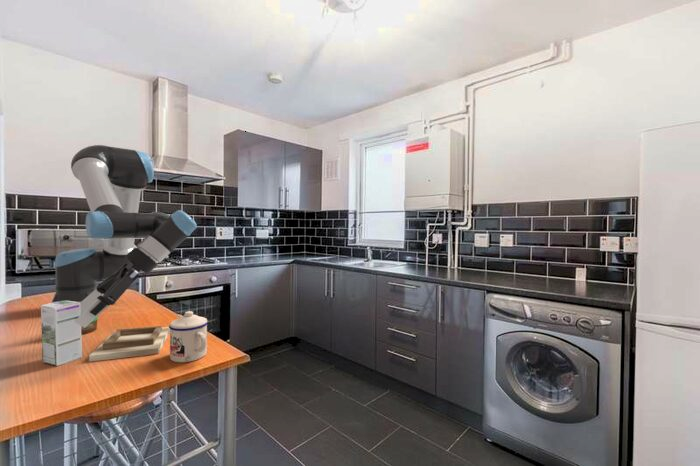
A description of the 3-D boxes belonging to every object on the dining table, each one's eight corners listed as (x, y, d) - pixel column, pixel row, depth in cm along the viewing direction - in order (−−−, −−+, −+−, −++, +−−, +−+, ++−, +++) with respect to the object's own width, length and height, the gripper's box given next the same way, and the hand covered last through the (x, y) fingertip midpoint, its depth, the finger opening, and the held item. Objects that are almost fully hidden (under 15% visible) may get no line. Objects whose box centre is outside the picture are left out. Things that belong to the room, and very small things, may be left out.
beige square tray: (113, 336, 96) (113, 326, 96) (170, 331, 101) (170, 322, 101) (89, 361, 79) (89, 349, 79) (158, 353, 84) (158, 342, 84)
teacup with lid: (162, 357, 82) (162, 312, 82) (196, 346, 90) (196, 305, 89) (186, 370, 76) (186, 321, 75) (221, 357, 83) (221, 313, 83)
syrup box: (83, 357, 81) (82, 301, 81) (55, 367, 76) (54, 307, 75) (68, 353, 83) (67, 299, 83) (40, 363, 78) (39, 304, 77)
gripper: (168, 269, 82) (95, 339, 73) (150, 259, 101) (90, 314, 92) (143, 249, 79) (63, 321, 69) (130, 243, 97) (65, 299, 88)
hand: (78, 318), depth 80 cm, fingers open, 13 cm apart
